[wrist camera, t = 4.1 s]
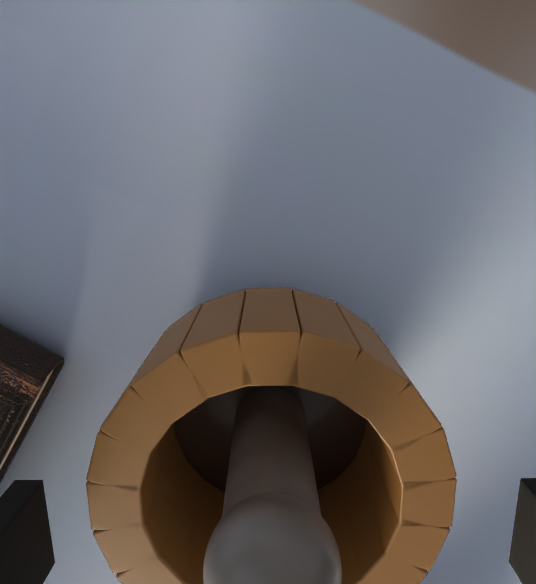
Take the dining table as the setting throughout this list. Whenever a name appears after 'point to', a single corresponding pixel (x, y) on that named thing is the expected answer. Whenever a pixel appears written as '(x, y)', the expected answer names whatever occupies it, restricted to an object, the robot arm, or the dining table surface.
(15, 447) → the hardcover book
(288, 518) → the seal stamp
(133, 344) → the dining table surface
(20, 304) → the dining table surface
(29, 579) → the robot arm
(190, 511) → the brown wooden open cylinder
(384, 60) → the dining table surface
